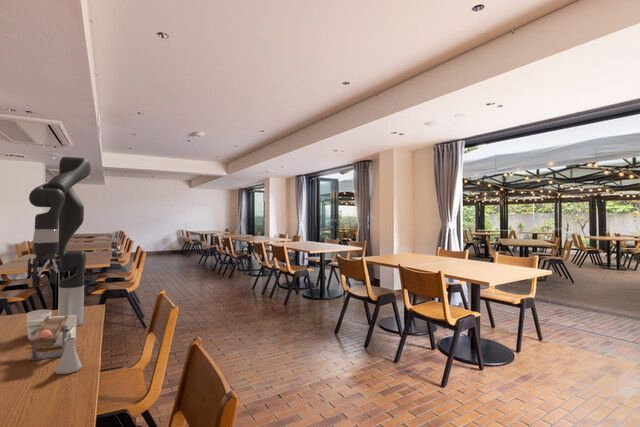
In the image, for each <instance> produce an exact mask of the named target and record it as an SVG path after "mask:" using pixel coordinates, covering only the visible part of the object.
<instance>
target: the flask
mask: <svg viewBox="0 0 640 427" xmlns="http://www.w3.org/2000/svg"><path fill="white" fill-rule="evenodd" d="M76 340H77V337H76V338H75V337H70V338H66V339H64V341H65V347H64V351H63V354H62V356H61V357H60V359H59V361H58V364H57V366H56V367H55V370H54V371H55V373H56V375H67V374H71V373H75V372H78V371H80V370H81V369H82V368H83V365H82V363H81V360H80V358H79V355H78V353H77V349H76Z"/></svg>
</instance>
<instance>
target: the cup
mask: <svg viewBox="0 0 640 427" xmlns="http://www.w3.org/2000/svg"><path fill="white" fill-rule="evenodd" d="M64 317H65V316H58V315H57V316H51V317H50V319H53V318H64ZM76 318H77V315H68V319H67V321H66V323H65V325H64V326H68V328H69V332H67V338H70V337H75V338H76V339H77V326H76ZM60 347H62V332H61V333H60V335H59V337H58V339H57V341H56V343H54V345H53V346H49V347H41V348H42V349H50V348H60Z"/></svg>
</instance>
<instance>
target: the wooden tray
mask: <svg viewBox="0 0 640 427" xmlns="http://www.w3.org/2000/svg"><path fill="white" fill-rule="evenodd" d="M67 319H68V314H66V315H65V317H64V318H53V319H49V316H46V317H45V319H40V320H29V322H28V323H27V322H26V325H25V329H27V328H37V327H39V329H38V331H37V332H36V334H35V336H34V337H33V339H31V340H30V339H29V340H30V346H31V347H33V345H34V348H38V349H39V348H42V347H49V346H53V345H54V343H56V341H57V339H58V337H59V335H60V333H61V332H63V327H64V325H65V323H66V321H67ZM44 330H49V331H51V332H52V336H51V337H50V338H39V334H40V332H42V331H44Z"/></svg>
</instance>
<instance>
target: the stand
mask: <svg viewBox="0 0 640 427" xmlns="http://www.w3.org/2000/svg"><path fill="white" fill-rule="evenodd" d="M38 329H39V328H36V329H34V330H33V332H32V333H31V335H33V337H34V336H35V334H36V332H37V331H38ZM67 332H69V328H68V326H64V327H63V332H62V346H61V350H55V351H54V350H53V351H47V352H46V351H45V352H39V348H34V345H32V354H31V356H30V357H29V359H28V362H32V361H41V360H49V359H56V358H57V359H58V358H61V356H62V354H63V351H64V347H65V341H64V339H66V338H67Z"/></svg>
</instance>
